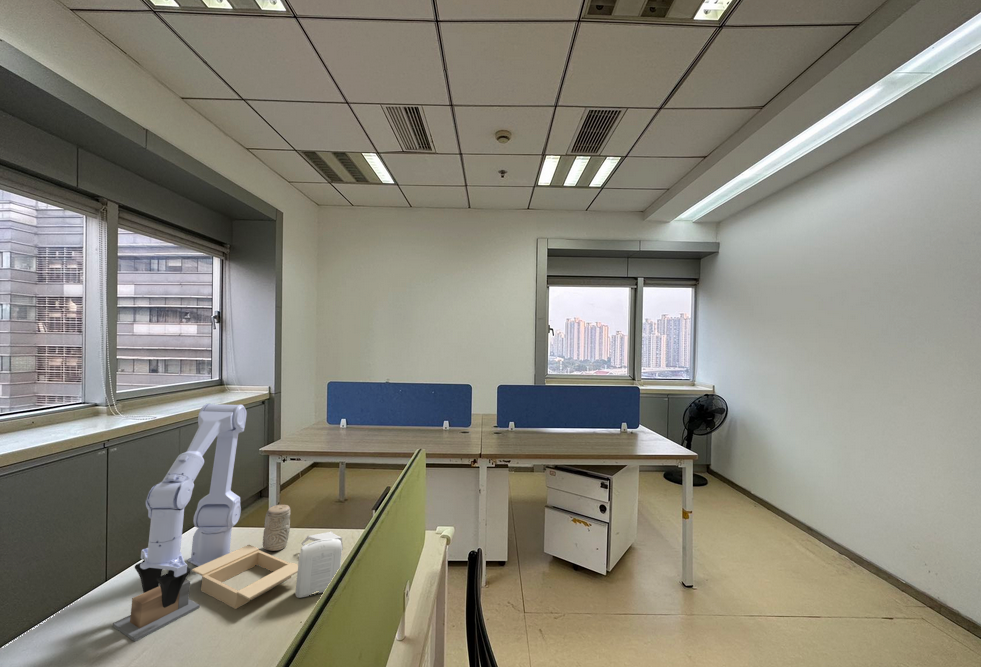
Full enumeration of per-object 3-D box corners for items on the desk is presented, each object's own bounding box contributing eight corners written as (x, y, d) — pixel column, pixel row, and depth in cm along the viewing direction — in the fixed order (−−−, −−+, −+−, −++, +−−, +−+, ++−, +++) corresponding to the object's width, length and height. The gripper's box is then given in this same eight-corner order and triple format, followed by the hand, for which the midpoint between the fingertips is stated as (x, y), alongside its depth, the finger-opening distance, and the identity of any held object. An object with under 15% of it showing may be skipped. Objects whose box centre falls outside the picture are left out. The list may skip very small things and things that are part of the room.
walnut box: (129, 621, 83) (132, 596, 83) (177, 598, 91) (179, 575, 91) (140, 628, 81) (142, 603, 81) (188, 604, 89) (190, 581, 90)
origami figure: (343, 543, 122) (345, 527, 122) (342, 557, 114) (343, 540, 114) (302, 546, 119) (303, 530, 119) (297, 561, 111) (298, 544, 111)
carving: (293, 544, 120) (296, 504, 120) (274, 556, 112) (277, 514, 113) (276, 540, 121) (280, 501, 122) (256, 552, 114) (260, 510, 115)
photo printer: (337, 580, 103) (340, 532, 103) (340, 588, 99) (344, 539, 100) (294, 591, 97) (298, 541, 98) (296, 601, 94) (300, 548, 94)
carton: (190, 585, 97) (192, 569, 97) (247, 558, 110) (249, 544, 111) (247, 615, 88) (249, 597, 88) (302, 582, 101) (304, 567, 101)
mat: (112, 626, 82) (112, 623, 82) (177, 595, 93) (177, 592, 93) (134, 641, 78) (134, 638, 78) (199, 607, 89) (199, 605, 89)
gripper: (126, 535, 86) (120, 598, 85) (162, 553, 80) (155, 621, 79) (164, 523, 92) (158, 582, 92) (199, 539, 86) (193, 601, 86)
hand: (159, 599), depth 86 cm, fingers open, 7 cm apart
